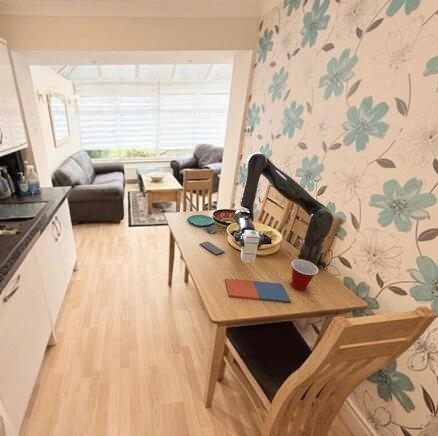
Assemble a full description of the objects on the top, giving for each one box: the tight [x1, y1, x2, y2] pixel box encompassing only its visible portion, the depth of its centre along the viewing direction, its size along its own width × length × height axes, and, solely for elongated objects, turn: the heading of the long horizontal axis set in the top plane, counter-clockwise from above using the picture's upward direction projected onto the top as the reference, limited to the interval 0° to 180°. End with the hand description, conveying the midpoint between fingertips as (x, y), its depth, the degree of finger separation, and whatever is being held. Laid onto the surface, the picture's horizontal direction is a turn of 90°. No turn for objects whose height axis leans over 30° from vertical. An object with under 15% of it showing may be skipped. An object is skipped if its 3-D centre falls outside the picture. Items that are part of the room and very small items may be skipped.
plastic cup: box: [290, 258, 319, 291], centre depth 112 cm, size 11×11×12 cm
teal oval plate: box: [186, 214, 227, 234], centre depth 178 cm, size 20×30×2 cm, turn 22°
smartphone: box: [199, 240, 225, 256], centre depth 147 cm, size 7×1×15 cm
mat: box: [224, 278, 292, 304], centre depth 112 cm, size 26×12×1 cm, turn 81°
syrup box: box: [240, 229, 260, 264], centre depth 110 cm, size 6×6×14 cm
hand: (250, 245), depth 107 cm, fingers closed on syrup box, 6 cm apart
